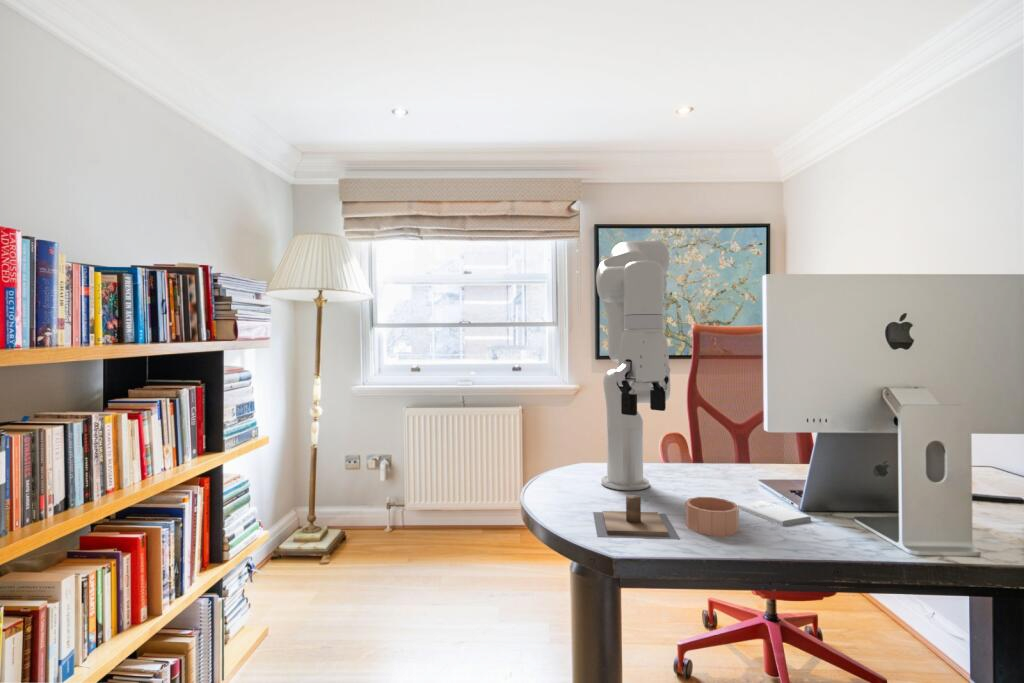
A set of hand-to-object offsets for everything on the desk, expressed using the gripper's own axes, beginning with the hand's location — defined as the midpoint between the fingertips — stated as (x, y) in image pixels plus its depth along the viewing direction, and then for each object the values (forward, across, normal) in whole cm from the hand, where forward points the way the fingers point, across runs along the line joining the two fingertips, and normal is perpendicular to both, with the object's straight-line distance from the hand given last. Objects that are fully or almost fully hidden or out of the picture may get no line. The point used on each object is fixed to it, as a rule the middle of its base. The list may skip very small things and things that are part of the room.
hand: (643, 412), depth 104 cm
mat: (+25, -5, -6) cm, 26 cm away
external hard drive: (+26, -34, +11) cm, 44 cm away
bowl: (+25, -16, +6) cm, 30 cm away
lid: (+25, -5, -6) cm, 26 cm away
